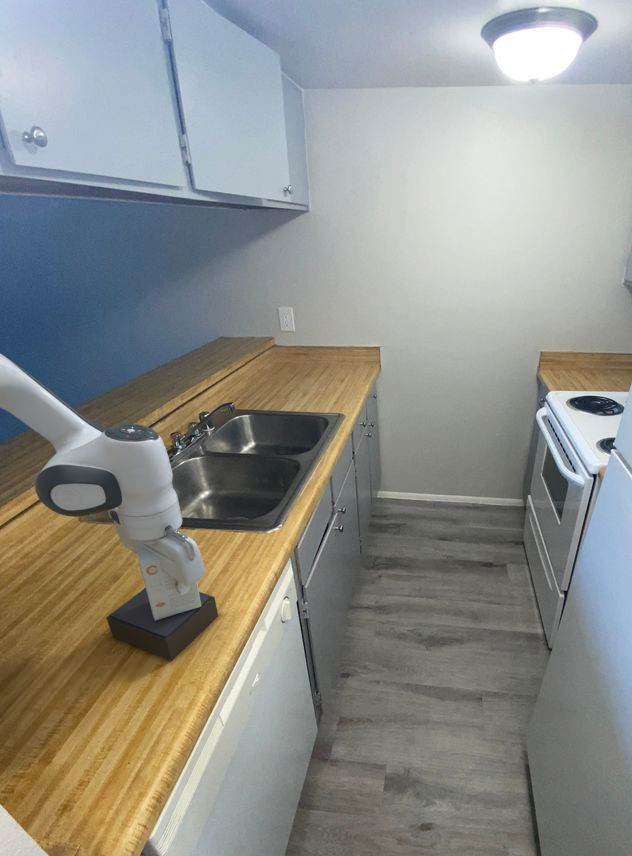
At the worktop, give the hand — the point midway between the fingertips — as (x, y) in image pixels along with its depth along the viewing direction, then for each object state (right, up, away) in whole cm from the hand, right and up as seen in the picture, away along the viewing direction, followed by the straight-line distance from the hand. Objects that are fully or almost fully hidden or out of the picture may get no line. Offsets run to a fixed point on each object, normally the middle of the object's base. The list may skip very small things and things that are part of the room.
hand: (168, 581), depth 86 cm
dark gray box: (-3, -10, +5) cm, 11 cm away
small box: (0, -5, +3) cm, 6 cm away
